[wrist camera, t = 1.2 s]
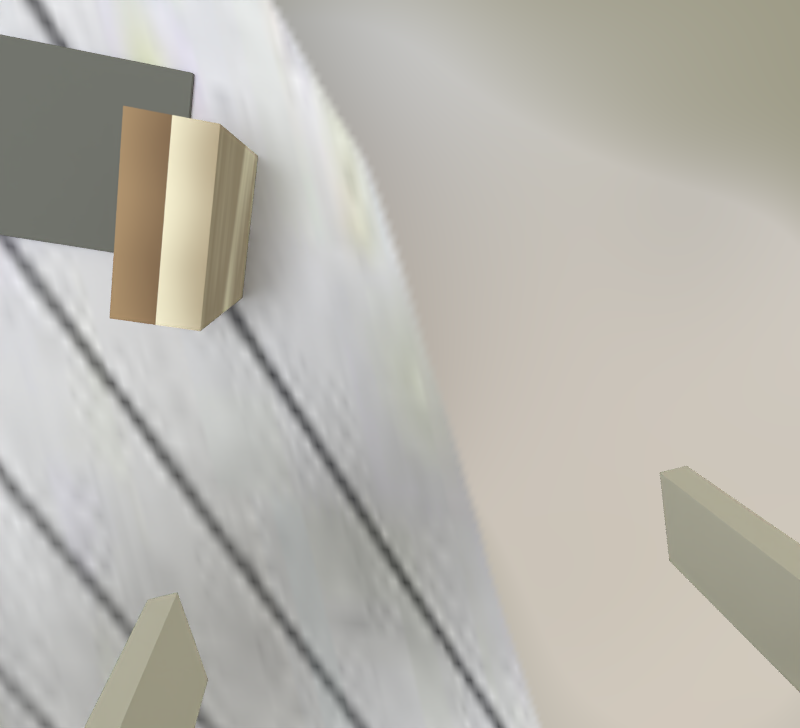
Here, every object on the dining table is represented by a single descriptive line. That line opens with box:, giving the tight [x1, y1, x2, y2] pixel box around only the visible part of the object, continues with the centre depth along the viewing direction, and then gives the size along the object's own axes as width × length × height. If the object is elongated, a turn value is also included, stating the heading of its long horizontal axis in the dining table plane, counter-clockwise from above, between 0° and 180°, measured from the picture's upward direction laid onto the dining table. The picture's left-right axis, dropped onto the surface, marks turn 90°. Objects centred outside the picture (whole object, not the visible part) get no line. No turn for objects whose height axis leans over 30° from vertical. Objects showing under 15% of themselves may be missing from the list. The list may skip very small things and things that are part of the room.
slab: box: [110, 106, 258, 331], centre depth 28 cm, size 4×8×11 cm, turn 170°
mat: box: [0, 35, 194, 252], centre depth 32 cm, size 15×10×1 cm, turn 80°
